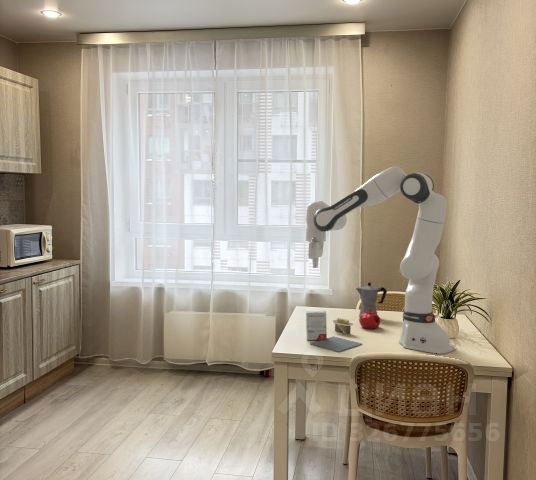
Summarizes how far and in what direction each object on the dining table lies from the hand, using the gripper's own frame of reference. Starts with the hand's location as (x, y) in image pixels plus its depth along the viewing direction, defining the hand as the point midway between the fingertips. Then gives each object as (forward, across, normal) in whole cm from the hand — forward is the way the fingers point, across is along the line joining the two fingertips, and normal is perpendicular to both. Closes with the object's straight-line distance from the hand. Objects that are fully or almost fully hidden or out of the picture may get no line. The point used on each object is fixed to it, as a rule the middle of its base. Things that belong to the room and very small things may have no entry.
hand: (315, 267), depth 250 cm
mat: (+30, -20, -12) cm, 38 cm away
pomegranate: (+29, +13, -24) cm, 40 cm away
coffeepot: (+28, +33, -24) cm, 49 cm away
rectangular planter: (+30, 0, -12) cm, 32 cm away
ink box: (+30, -14, -3) cm, 33 cm away
